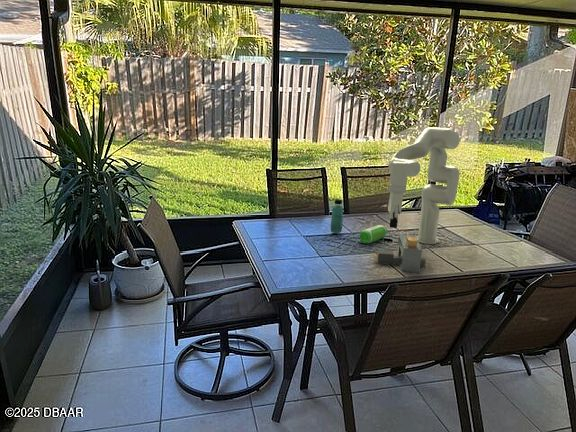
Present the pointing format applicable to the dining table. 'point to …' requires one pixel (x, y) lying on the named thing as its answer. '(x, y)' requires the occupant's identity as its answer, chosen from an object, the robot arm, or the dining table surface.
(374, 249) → the dining table surface
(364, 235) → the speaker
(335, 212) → the beverage bottle
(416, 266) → the grey boxy piece
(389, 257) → the plug
